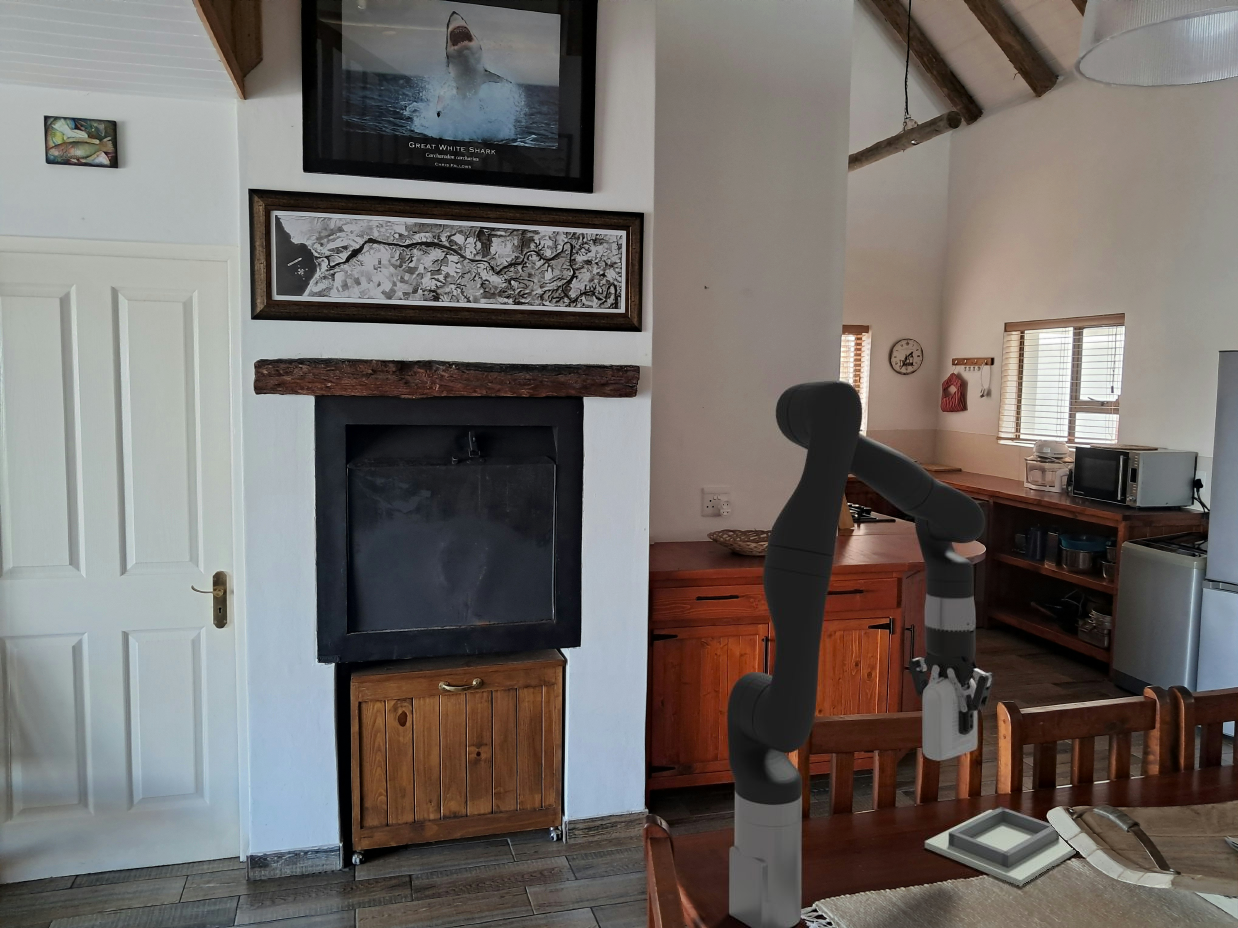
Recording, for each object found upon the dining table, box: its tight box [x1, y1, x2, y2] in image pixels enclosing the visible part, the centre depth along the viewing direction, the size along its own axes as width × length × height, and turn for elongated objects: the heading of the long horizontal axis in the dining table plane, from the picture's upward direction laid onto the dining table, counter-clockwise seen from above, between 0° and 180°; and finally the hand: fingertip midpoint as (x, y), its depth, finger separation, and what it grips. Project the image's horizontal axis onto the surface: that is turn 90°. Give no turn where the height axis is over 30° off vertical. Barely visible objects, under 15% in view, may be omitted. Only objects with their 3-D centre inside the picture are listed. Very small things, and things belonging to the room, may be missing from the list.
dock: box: [924, 806, 1076, 888], centre depth 144 cm, size 20×16×3 cm
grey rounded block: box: [921, 677, 978, 762], centre depth 141 cm, size 10×4×12 cm, turn 124°
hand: (950, 728), depth 141 cm, fingers closed on grey rounded block, 4 cm apart
